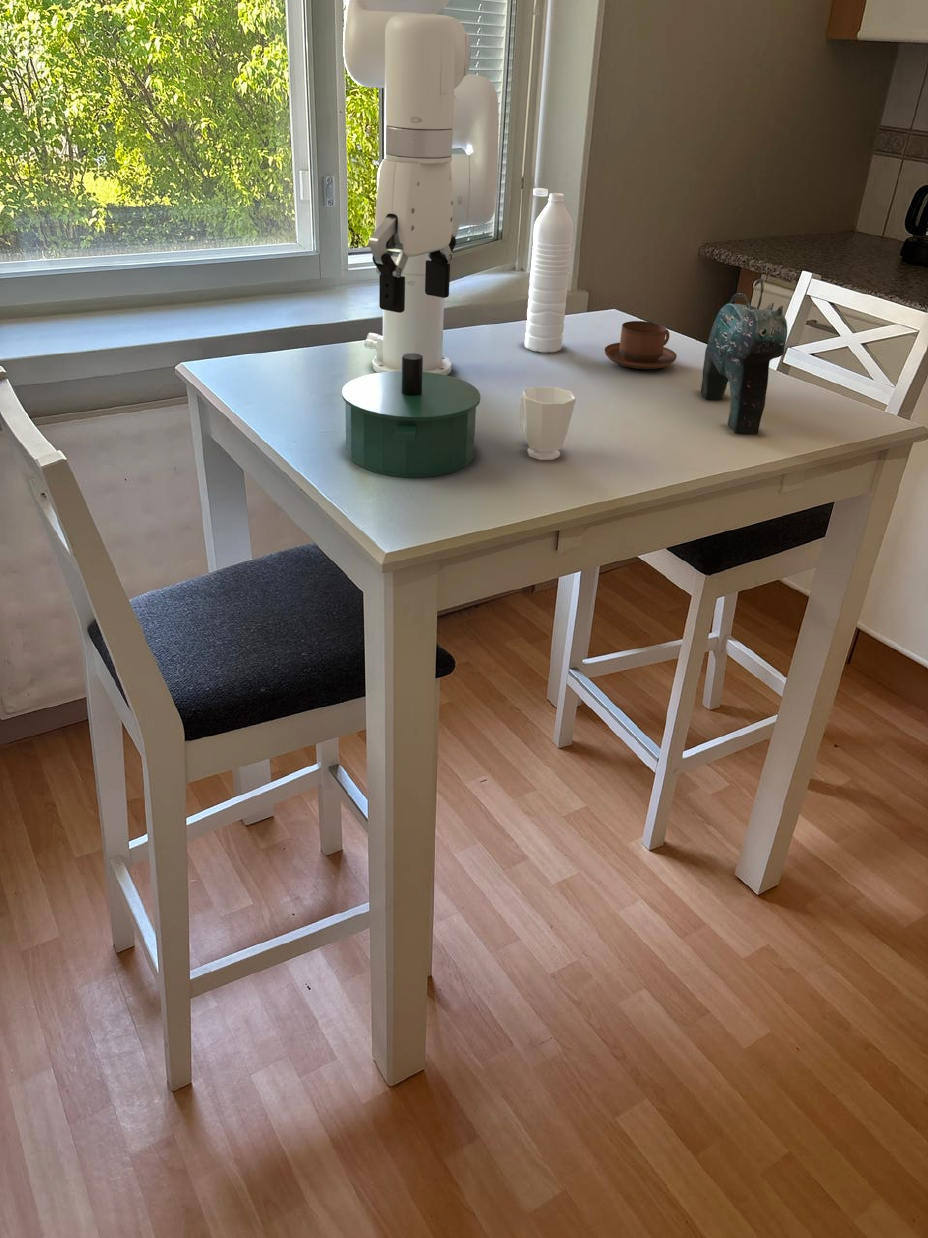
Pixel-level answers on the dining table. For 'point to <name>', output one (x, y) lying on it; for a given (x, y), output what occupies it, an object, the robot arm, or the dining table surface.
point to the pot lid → (411, 393)
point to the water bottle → (549, 275)
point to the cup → (545, 420)
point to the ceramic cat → (743, 359)
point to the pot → (410, 444)
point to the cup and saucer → (642, 346)
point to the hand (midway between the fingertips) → (415, 302)
